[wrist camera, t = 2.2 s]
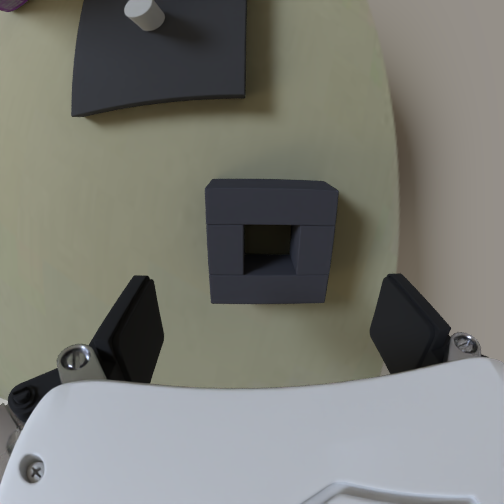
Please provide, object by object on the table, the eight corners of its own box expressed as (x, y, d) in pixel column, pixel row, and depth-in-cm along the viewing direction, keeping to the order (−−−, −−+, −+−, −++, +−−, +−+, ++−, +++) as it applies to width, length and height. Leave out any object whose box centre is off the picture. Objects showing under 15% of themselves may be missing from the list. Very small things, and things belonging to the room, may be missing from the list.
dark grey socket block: (324, 181, 17) (339, 190, 14) (315, 279, 20) (324, 303, 17) (211, 179, 17) (204, 187, 14) (215, 279, 20) (211, 304, 17)
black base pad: (247, -38, 10) (247, -69, 7) (245, 98, 15) (244, 87, 11) (97, -12, 10) (71, -31, 6) (82, 117, 15) (47, 117, 11)
